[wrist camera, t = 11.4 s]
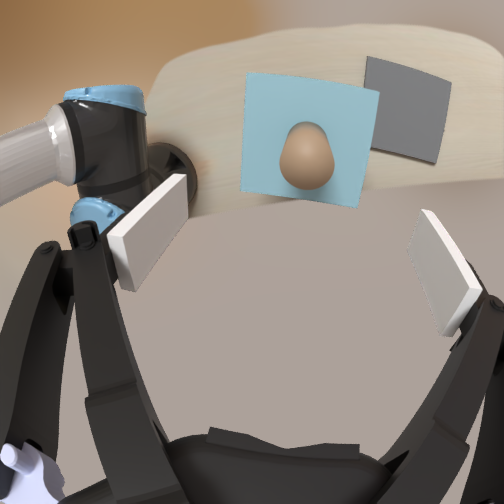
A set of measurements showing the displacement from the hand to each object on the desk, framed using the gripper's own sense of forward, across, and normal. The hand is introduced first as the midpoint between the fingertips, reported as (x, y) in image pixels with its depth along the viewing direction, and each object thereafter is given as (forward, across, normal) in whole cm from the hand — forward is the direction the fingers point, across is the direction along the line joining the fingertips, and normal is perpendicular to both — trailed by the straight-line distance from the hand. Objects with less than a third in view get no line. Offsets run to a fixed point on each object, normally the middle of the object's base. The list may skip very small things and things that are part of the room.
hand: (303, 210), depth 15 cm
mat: (+37, +17, +5) cm, 41 cm away
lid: (+19, 0, 0) cm, 19 cm away
